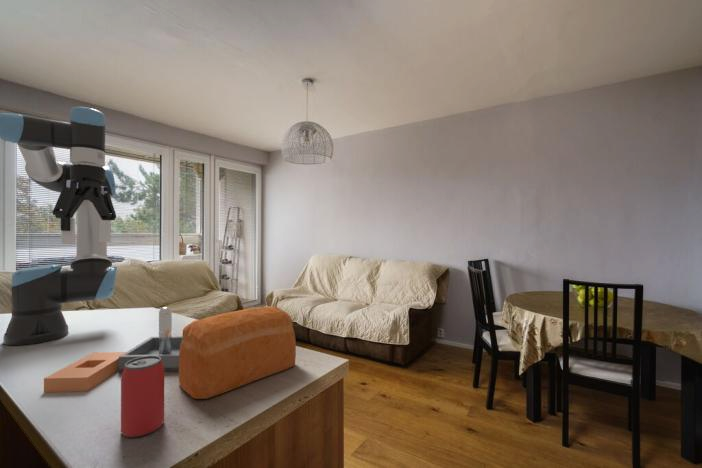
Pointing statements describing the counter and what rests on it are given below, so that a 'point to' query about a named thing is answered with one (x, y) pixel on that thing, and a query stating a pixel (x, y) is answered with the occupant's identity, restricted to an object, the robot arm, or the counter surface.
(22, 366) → the counter surface
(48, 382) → the orange block with hole
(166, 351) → the pin
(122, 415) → the beer can
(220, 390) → the bread
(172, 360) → the tray
